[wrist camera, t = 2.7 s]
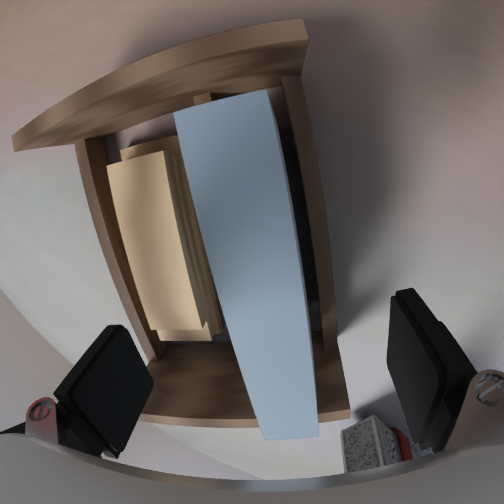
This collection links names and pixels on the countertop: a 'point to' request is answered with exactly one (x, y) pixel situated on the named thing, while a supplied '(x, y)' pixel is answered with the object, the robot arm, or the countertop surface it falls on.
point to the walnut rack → (108, 231)
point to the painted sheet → (254, 254)
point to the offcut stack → (164, 241)
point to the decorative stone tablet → (373, 446)
